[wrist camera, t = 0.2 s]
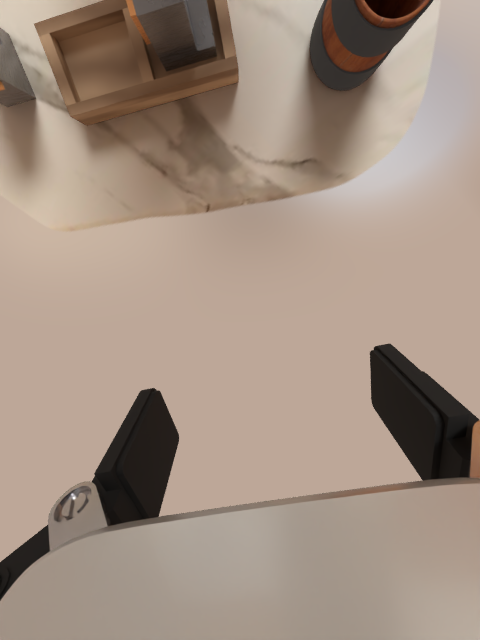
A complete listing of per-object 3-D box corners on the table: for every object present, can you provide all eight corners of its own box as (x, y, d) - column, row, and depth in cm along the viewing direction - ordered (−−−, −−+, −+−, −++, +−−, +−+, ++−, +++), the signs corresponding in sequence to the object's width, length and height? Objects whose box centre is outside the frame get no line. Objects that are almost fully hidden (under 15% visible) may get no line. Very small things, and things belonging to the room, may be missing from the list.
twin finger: (148, 26, 28) (109, -53, 19) (207, 7, 27) (192, -83, 19) (161, 73, 29) (129, 18, 21) (217, 56, 29) (207, -7, 20)
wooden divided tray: (56, 44, 30) (33, 23, 26) (222, -10, 28) (220, -39, 25) (87, 125, 33) (70, 116, 30) (238, 82, 31) (238, 67, 28)
